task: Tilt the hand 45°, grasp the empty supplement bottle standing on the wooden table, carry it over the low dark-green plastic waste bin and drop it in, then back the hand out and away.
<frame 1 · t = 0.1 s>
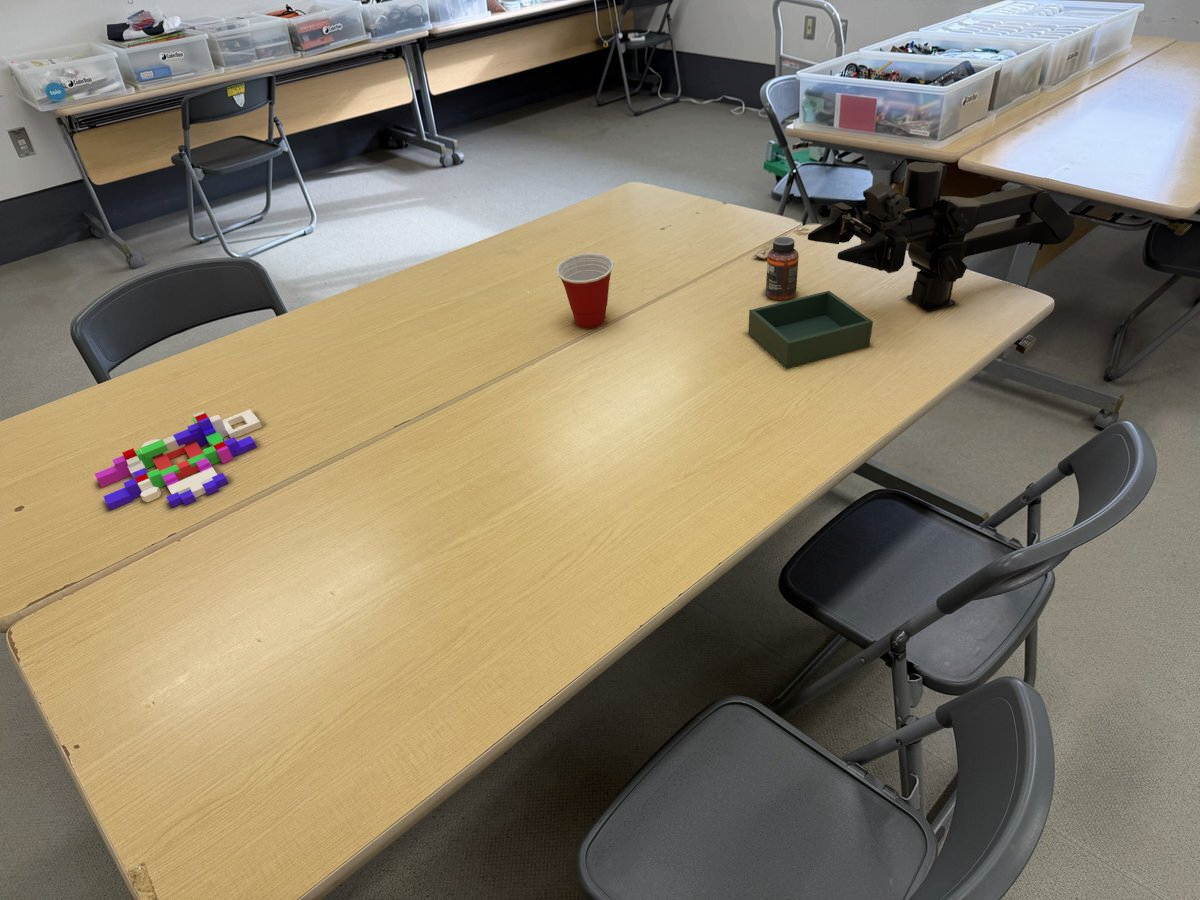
hand: (822, 246, 134), 17 cm above the table, tool horizontal, fingers open, 9 cm apart
bin: (807, 340, 141), on the table
building block set: (190, 465, 125), on the table
plastic cup: (589, 323, 153), on the table
snack bar: (768, 252, 173), on the table
supplement bottle: (780, 295, 156), on the table
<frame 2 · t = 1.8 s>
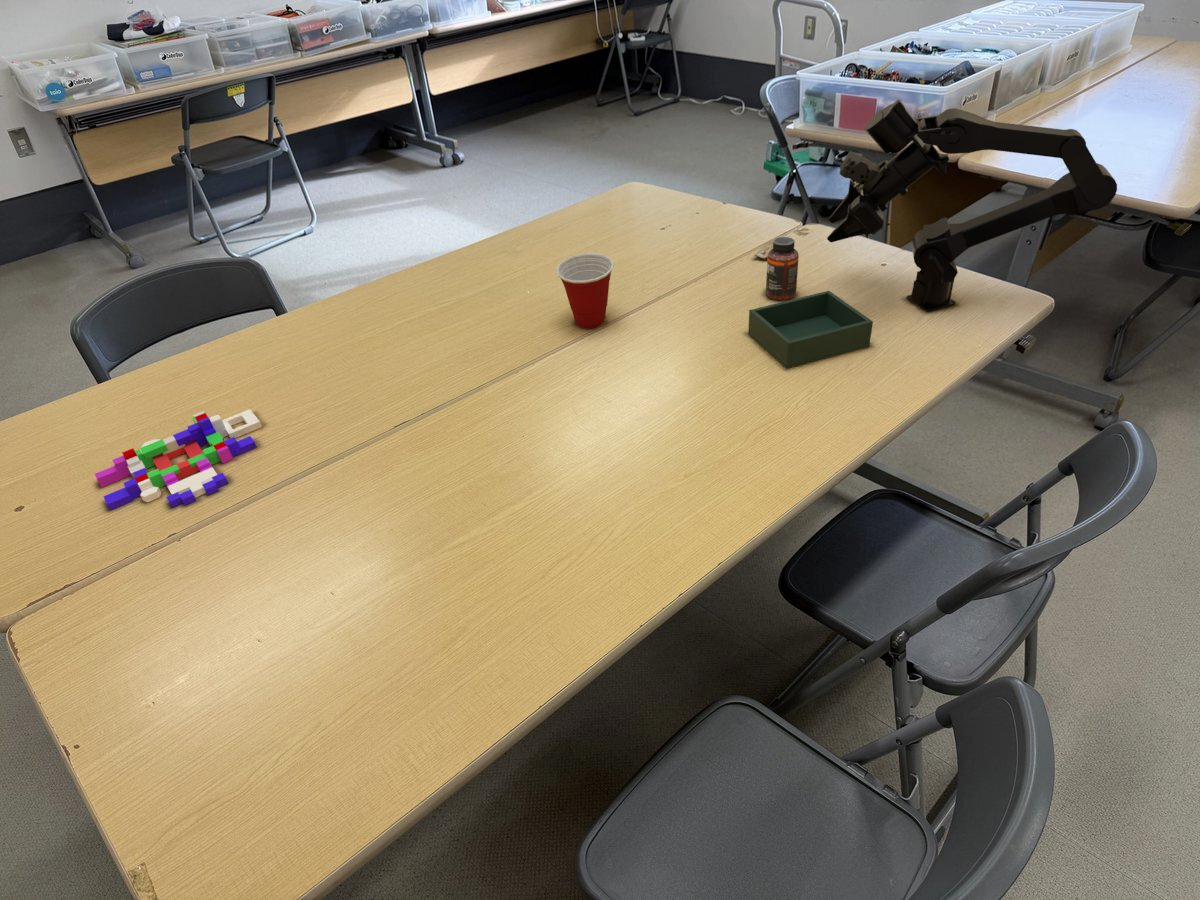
hand: (829, 230, 146), 14 cm above the table, tool tilted 45°, fingers open, 9 cm apart
nothing on the table moved.
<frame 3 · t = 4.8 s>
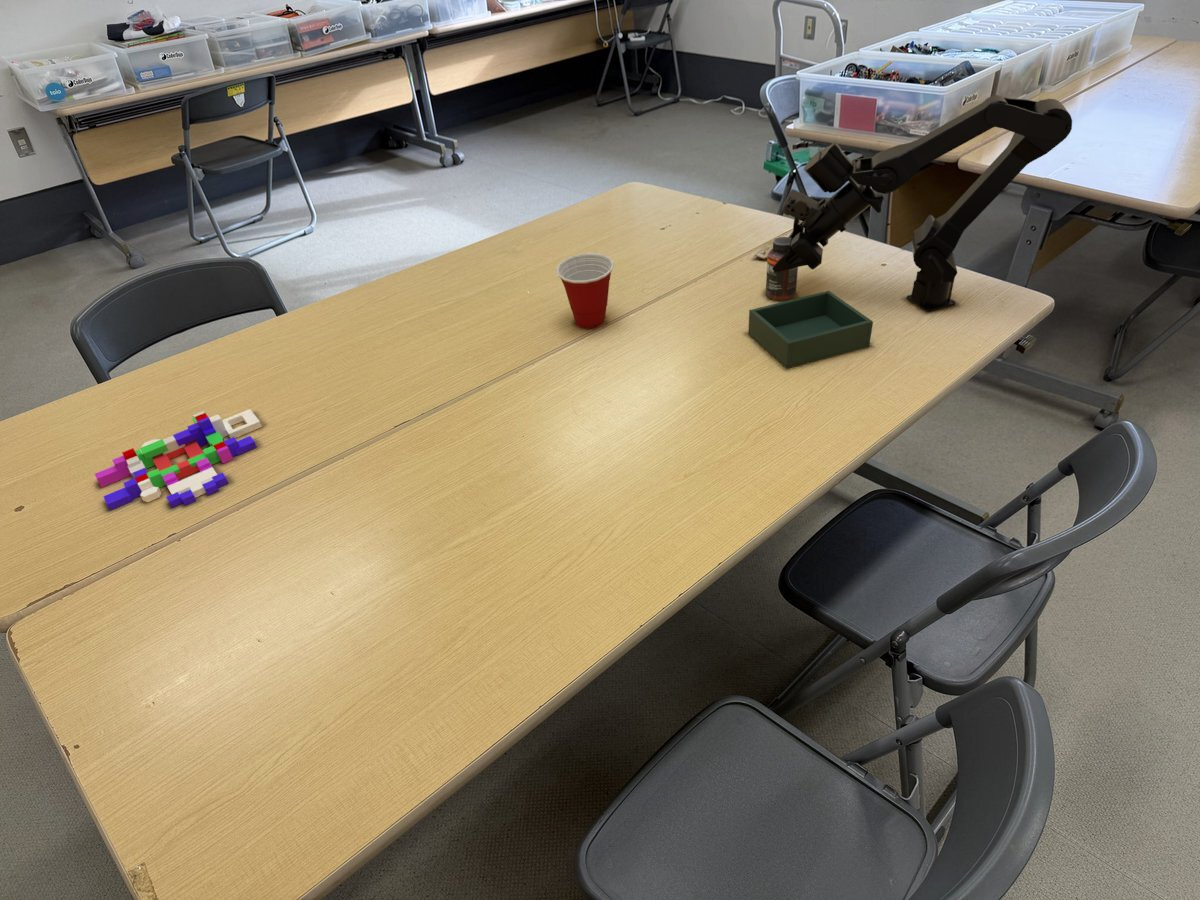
hand: (775, 263, 153), 7 cm above the table, tool tilted 45°, fingers closed on supplement bottle, 6 cm apart
supplement bottle: (780, 295, 156), on the table, touching gripper
everything else where it was.
when the fingers open (7 cm above the table, at t = 12.5 s): supplement bottle stays where it is, resting on bin.
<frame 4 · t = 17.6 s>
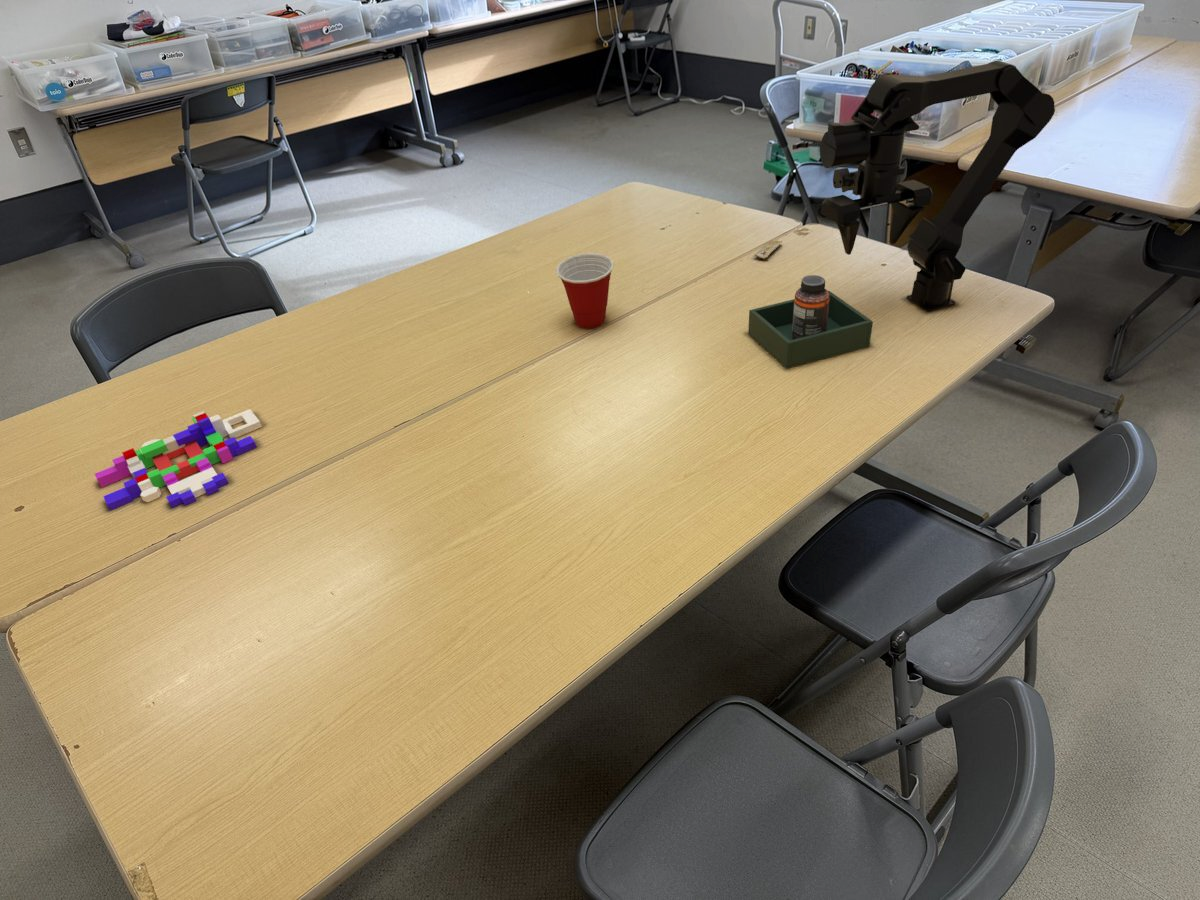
hand: (870, 248, 140), 13 cm above the table, tool pointing down, fingers open, 9 cm apart
supplement bottle: (808, 338, 141), resting on bin
everything else where it was.
at the end: supplement bottle inside the target area in the bin (0.2 cm from its centre), point 0.3 cm above the bin's base; the gripper is holding nothing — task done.
